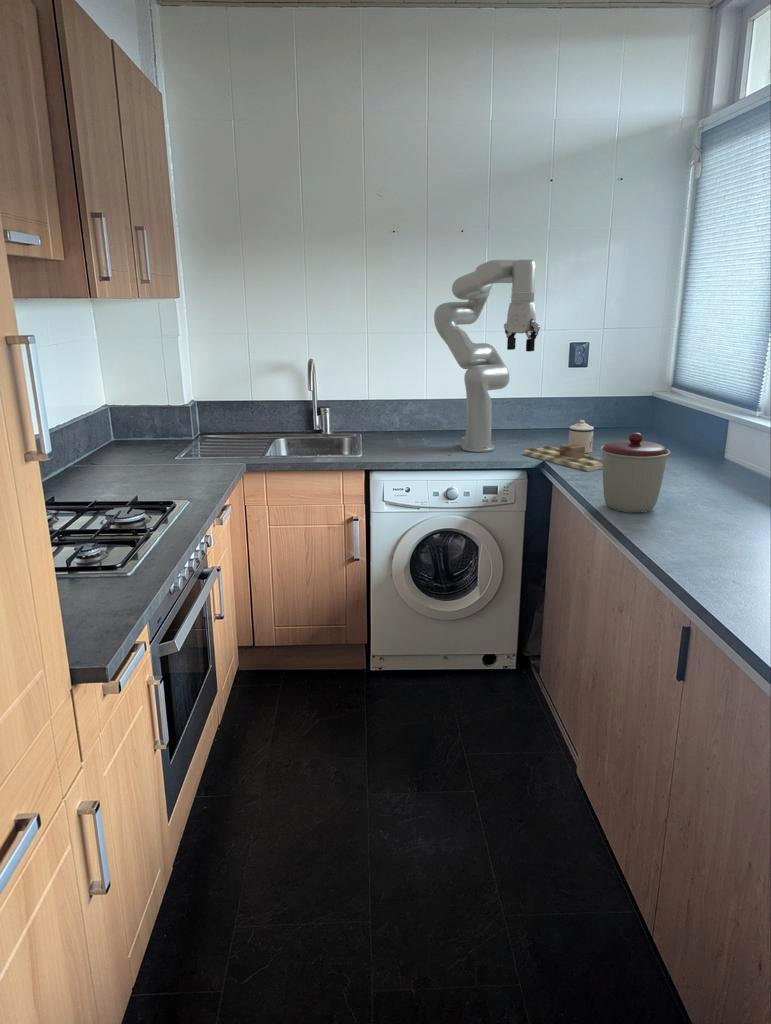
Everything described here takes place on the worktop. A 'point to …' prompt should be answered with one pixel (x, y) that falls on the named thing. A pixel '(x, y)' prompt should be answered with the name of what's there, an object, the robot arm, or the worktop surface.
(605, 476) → the canister
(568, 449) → the walnut slider
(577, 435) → the teacup with lid
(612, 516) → the worktop surface
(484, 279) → the robot arm
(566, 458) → the birch rail board
